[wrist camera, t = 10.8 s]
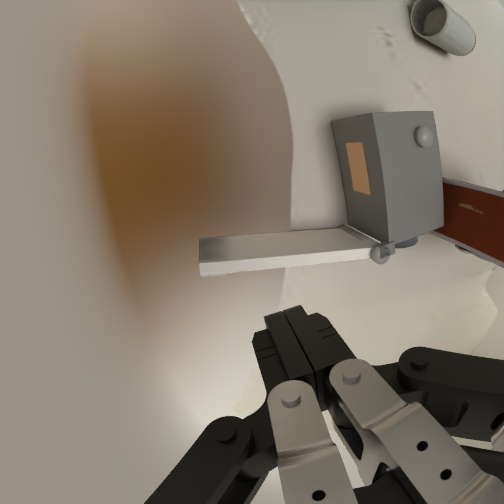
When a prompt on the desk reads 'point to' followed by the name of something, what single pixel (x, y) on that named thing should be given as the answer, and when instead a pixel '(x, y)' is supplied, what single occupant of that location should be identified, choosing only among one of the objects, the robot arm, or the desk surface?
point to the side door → (281, 250)
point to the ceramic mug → (442, 26)
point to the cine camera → (473, 220)
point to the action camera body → (391, 177)
